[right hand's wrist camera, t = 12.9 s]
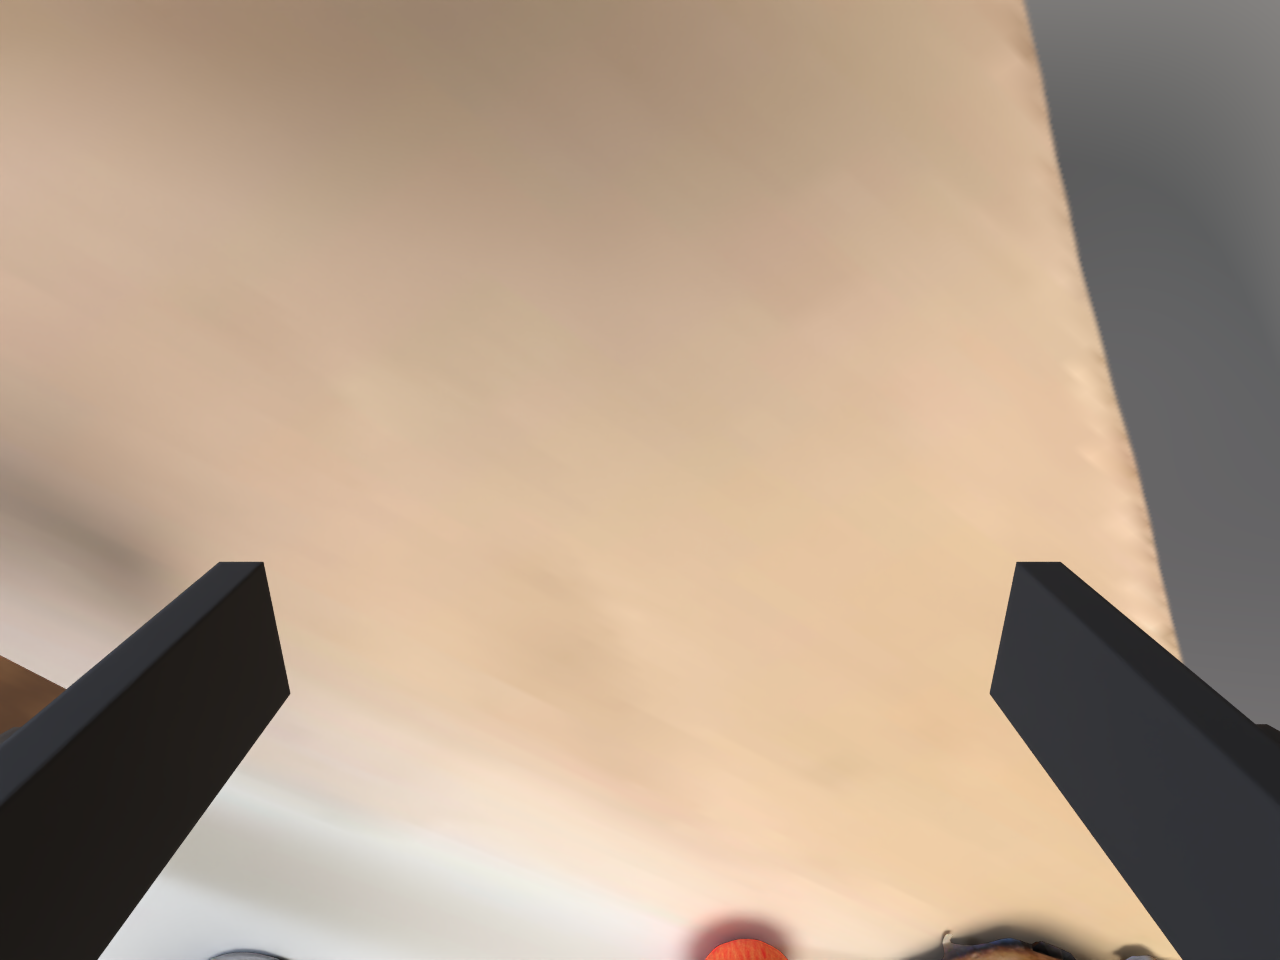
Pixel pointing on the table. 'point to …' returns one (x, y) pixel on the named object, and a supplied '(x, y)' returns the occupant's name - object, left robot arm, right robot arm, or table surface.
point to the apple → (745, 951)
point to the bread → (1010, 951)
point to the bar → (22, 694)
